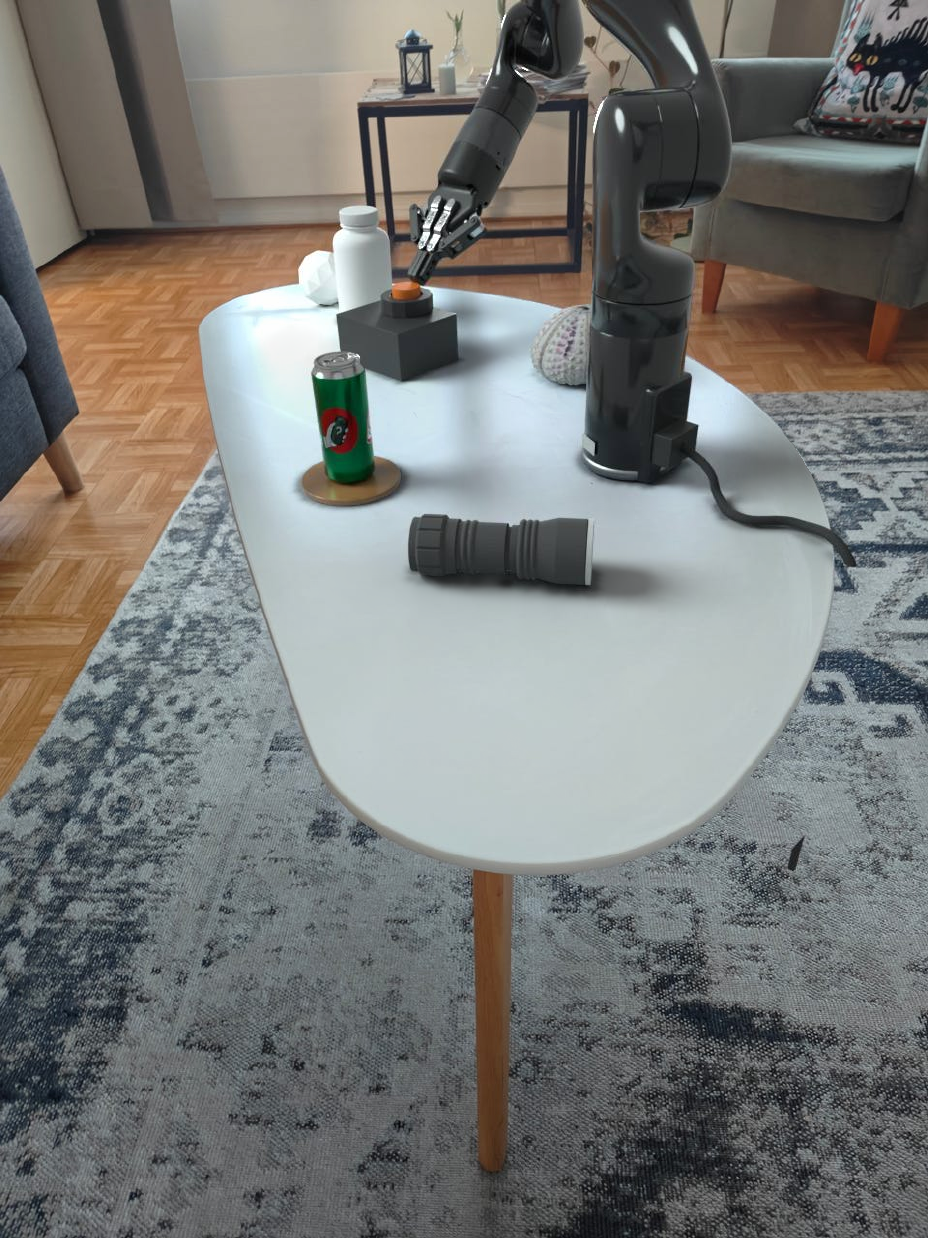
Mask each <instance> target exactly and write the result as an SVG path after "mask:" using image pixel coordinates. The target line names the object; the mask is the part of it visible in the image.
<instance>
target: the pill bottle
mask: <svg viewBox="0 0 928 1238" xmlns="http://www.w3.org/2000/svg"><path fill="white" fill-rule="evenodd" d="M338 215H339V224H340V227H341V228H342V229H340V230H338V231H337V232H335V234H334V236H333V239H332V252H333V254H334V261H335V271H336V281H337V291H338V311H339V313H342V312H345V311H348V310H351V309H354V308H357V307H361V306H364V305H367V304H370V303H373V302H376V301H379V300H381V297H380V296H381V294H382V293H384V292H385V291H387V290H391V289H392V286H393V274H392V273H393V272H392V260H391V259H392V257H391V245H390V243H391V242H390V237H389V235H388V233H387V232H386V230H384V229H382V228H381V227H378V226H379V225H380V223H379V210H378V208H377V207H375V206H370V205H352V206H351V205H350V206H345V207H343V208H341V209H340V210H339V211H338Z"/></svg>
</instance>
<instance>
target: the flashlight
mask: <svg viewBox="0 0 928 1238" xmlns="http://www.w3.org/2000/svg"><path fill="white" fill-rule="evenodd" d="M594 536H595V518H575V517H556V518H551V519H546V520H539V519H534V520H533V519H531V518H530V519H528V520H527V519H525V518H523V519H521V520H520V521H519V524H512V526H510V523H509V522H494V521H493V522H492V521H491V522H490V521H479V520H478V519H473V520H471V519H466V520H462V519H461V518H450V517H449V516H448V514H444V513H443V514H441V513H440V514H439V513H423V514H422V515H421V516H414V517H413V518H412V519H411V522H410V525H409V530H408V540H407V557H408V565H409V568H410V571H411V572H417V573H419V574H420V575H421V576H433V577H435V576H436V577H437V576H438V577H445V576H446V575H447V574H455V575H456V574H459V573H461V572H462V573H464V574H469V573H470V574H471V575H474V574H476V573H482V574H484V573H485V574H504V575H505V574H507V573H508V571H509V572H510V573H513V574H514V573H516V576H517V578H518V579H520V580H523V579H525V580H529V579H531V580H534V581H535V580H536V579H538V580H542V581H545V582H549V583H552V584H557V585H578V586H579V585H580V586H584V585H585V586H591V584H592V574H593V573H592V572H593V571H592V570H593V556H594V555H593V554H594V539H595V538H594Z"/></svg>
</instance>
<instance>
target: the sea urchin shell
mask: <svg viewBox="0 0 928 1238" xmlns="http://www.w3.org/2000/svg"><path fill="white" fill-rule="evenodd" d="M590 310H591V303H590V304H589V303H585V304H580V305H579V304H578V305H572V306H567V307H565V308H563V309H561V310H559V311H558V312H556V313H554V314H553V316H552V317H549V318H548V320H547V322H546V323H543V326H542V328H541V329H540V330H539V332H538V334H537V335H536V337H534V338H533V342H532V343H531V347H530V350H529V351H530V355H529V356H530V358H531V363H532V367H533V368H534V369H535V371H536V373H539V374H540V375H541V376H542V377H543V378H547V379H549V380H550V381H551V382H554V383H558V384H559V385H560V384H562V385H566V384H567V385H569V386H573V385H574V386H579V385H586V386H587V367H588V347H589V328H590Z"/></svg>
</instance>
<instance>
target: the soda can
mask: <svg viewBox="0 0 928 1238" xmlns="http://www.w3.org/2000/svg"><path fill="white" fill-rule="evenodd" d="M313 365H314V366H313V368H312V369H311V371H310V376H311V382H312V390H313V397H314V404H315V411H316V418H317V426H318V432H319V433H318V434H319V439H320V448H321V455H322V461H323V462H324V469H325V474H326V476H327V477H328V478H329V479H331V480H332V481H334V482H336V483H339V484H356V483H360V482H363V481H365V480H367V479H368V478H369V477H370V476H371V475H372V474H373V472H374V471H375V461H374V456H375V452H374V444H373V432H372V424H371V423H372V422H371V414H370V413H371V411H370V403H369V393H368V384H367V374H366V368H365V367H364V366H363V364H362V363H361V362H360V357H359V356H358V355H357V354H355V353H351V352H340V351H331V352H330V351H329V352H327V353H322V354H320V355H318V356H317V357H315V358H314V360H313Z"/></svg>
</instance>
